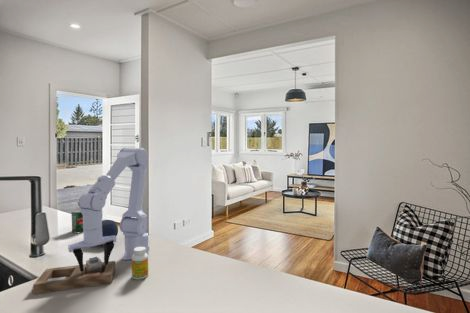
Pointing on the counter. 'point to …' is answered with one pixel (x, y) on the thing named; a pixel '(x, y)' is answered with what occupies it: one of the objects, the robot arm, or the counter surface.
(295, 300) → the counter surface
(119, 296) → the counter surface
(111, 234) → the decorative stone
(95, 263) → the plug
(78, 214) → the canned tomato
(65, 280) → the socket board
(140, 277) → the supplement bottle
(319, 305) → the counter surface
